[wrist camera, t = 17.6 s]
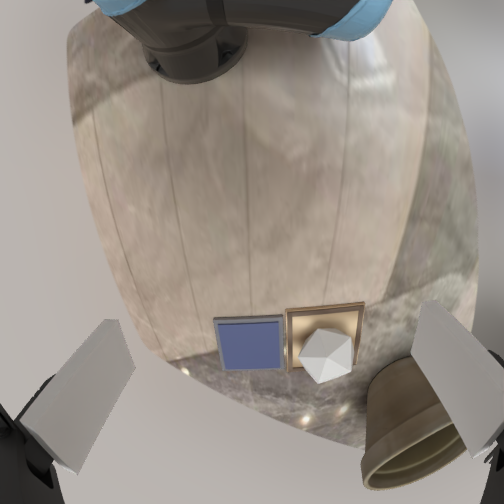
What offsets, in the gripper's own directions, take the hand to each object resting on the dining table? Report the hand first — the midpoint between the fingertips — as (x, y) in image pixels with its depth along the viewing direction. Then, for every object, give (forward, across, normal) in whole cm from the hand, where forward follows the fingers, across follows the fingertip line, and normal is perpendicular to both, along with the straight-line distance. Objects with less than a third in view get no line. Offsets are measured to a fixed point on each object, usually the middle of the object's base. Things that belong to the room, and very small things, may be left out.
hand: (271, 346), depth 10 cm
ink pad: (+29, -4, -21) cm, 36 cm away
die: (+28, +8, -21) cm, 36 cm away
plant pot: (+29, +26, -36) cm, 53 cm away
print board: (+29, +8, -21) cm, 37 cm away
